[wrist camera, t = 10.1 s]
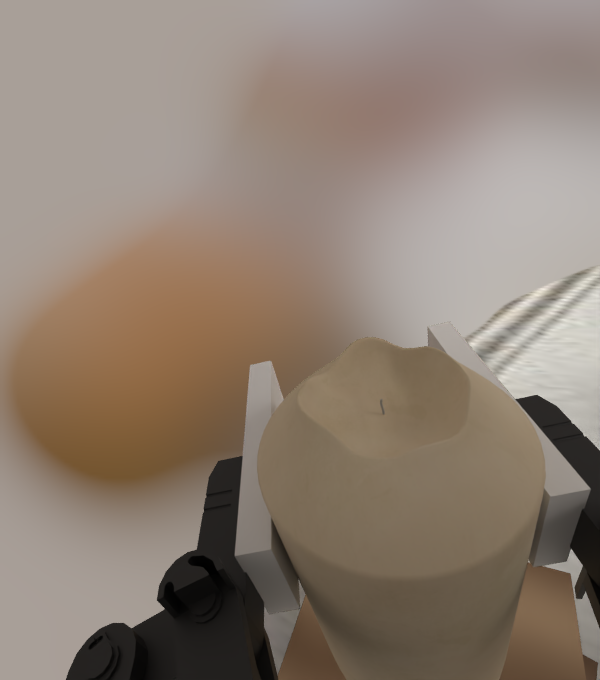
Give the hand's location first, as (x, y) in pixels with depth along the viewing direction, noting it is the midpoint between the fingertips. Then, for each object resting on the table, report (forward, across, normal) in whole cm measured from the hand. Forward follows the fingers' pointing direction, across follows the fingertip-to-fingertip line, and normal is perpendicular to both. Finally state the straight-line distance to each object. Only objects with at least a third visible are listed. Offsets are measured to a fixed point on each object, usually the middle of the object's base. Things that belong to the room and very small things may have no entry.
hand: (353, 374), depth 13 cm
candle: (-5, 0, -6) cm, 8 cm away
